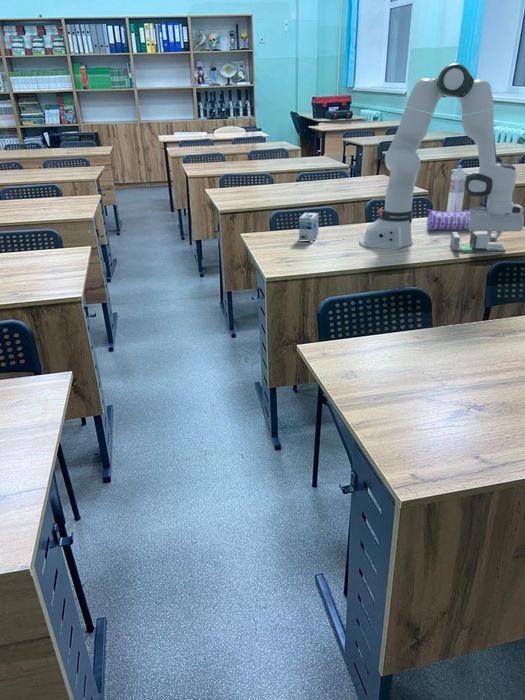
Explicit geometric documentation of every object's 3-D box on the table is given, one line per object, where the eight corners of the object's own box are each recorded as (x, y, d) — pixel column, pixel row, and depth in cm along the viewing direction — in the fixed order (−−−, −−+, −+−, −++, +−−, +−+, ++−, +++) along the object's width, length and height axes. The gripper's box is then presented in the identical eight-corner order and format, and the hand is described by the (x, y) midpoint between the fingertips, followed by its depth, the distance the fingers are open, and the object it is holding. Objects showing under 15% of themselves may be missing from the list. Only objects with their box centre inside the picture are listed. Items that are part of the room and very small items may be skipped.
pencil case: (471, 226, 245) (474, 206, 240) (477, 231, 237) (481, 210, 232) (423, 227, 246) (425, 207, 242) (428, 233, 238) (430, 212, 234)
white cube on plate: (473, 249, 209) (475, 236, 207) (469, 243, 216) (471, 231, 214) (488, 249, 208) (490, 236, 206) (483, 243, 215) (485, 231, 213)
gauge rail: (452, 252, 211) (454, 237, 208) (449, 246, 218) (451, 232, 215) (505, 253, 208) (508, 237, 205) (500, 247, 215) (503, 232, 212)
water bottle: (461, 220, 254) (468, 166, 242) (446, 220, 255) (453, 167, 244) (459, 217, 260) (466, 164, 248) (445, 217, 261) (451, 164, 250)
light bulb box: (313, 242, 231) (313, 218, 226) (298, 241, 233) (298, 217, 228) (318, 236, 240) (319, 212, 235) (304, 235, 242) (304, 212, 237)
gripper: (472, 208, 203) (466, 243, 210) (528, 208, 200) (521, 244, 206) (469, 205, 209) (464, 239, 215) (523, 205, 205) (516, 239, 212)
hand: (492, 241), depth 211 cm, fingers closed
